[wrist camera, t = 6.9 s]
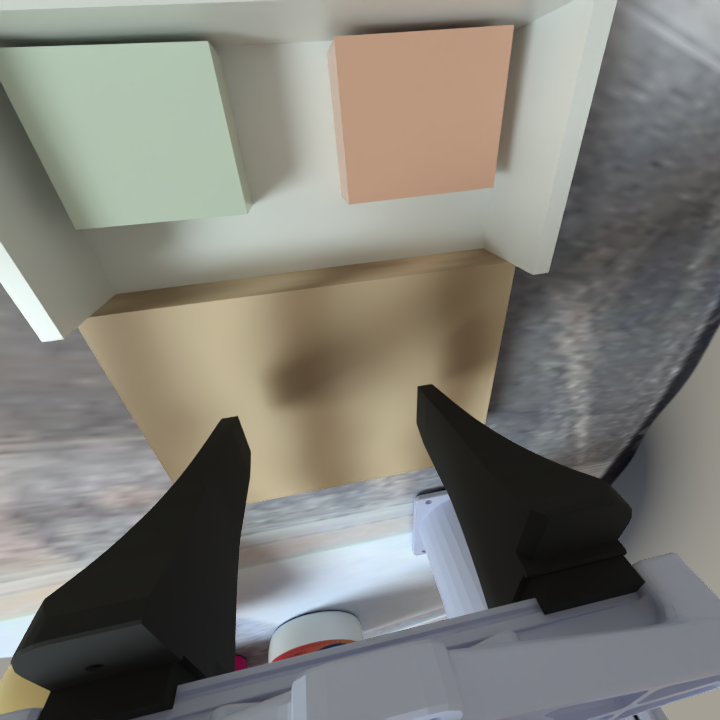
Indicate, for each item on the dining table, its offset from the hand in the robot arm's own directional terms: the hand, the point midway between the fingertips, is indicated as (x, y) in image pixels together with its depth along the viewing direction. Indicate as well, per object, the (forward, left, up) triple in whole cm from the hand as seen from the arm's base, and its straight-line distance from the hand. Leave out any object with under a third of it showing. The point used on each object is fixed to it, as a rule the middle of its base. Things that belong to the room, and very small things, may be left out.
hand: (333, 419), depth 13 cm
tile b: (+4, -10, -2) cm, 11 cm away
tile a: (-4, -10, -2) cm, 11 cm away
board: (0, +1, -4) cm, 4 cm away
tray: (0, -9, -4) cm, 10 cm away
